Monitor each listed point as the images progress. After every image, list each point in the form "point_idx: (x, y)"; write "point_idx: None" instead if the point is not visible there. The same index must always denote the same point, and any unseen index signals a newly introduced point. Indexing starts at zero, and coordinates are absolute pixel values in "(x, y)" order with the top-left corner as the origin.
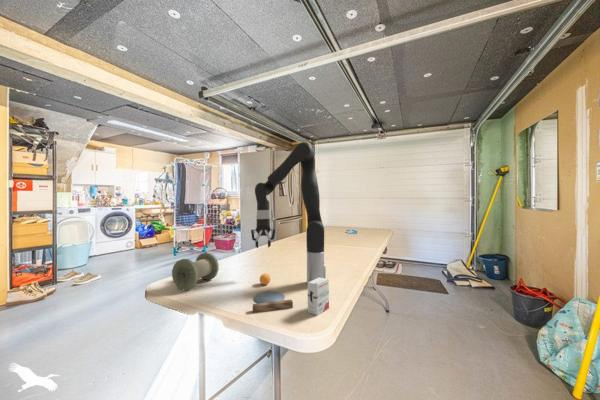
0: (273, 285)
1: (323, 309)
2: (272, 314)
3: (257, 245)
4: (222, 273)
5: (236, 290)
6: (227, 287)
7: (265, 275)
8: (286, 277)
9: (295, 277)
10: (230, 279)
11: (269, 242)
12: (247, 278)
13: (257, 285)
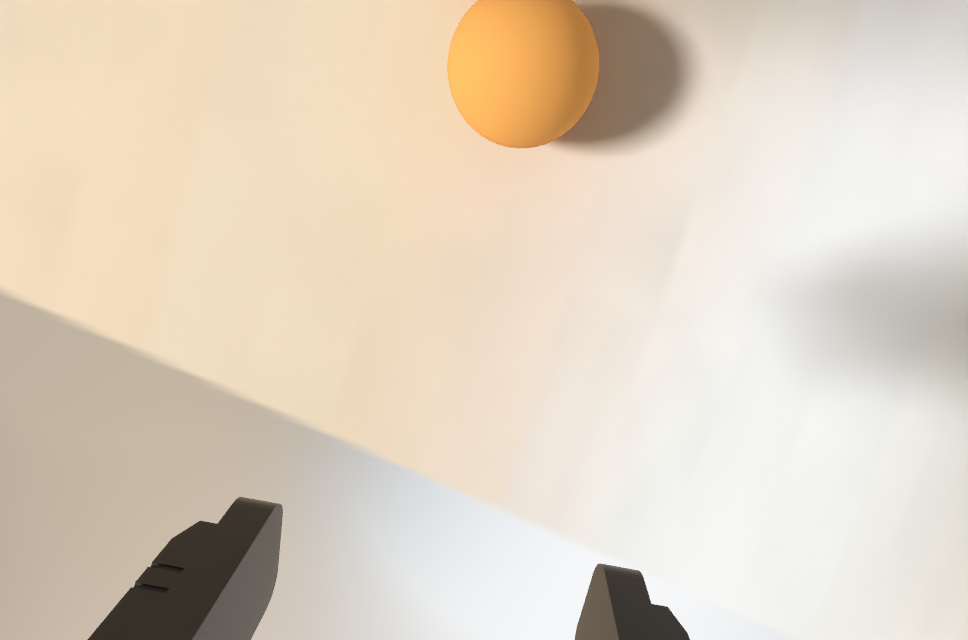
0: None
1: None
2: None
3: (639, 620)
4: (829, 631)
5: (896, 33)
6: (947, 185)
7: (532, 12)
8: (204, 202)
9: (94, 151)
10: (822, 423)
11: (149, 613)
12: (644, 373)
13: (615, 87)
